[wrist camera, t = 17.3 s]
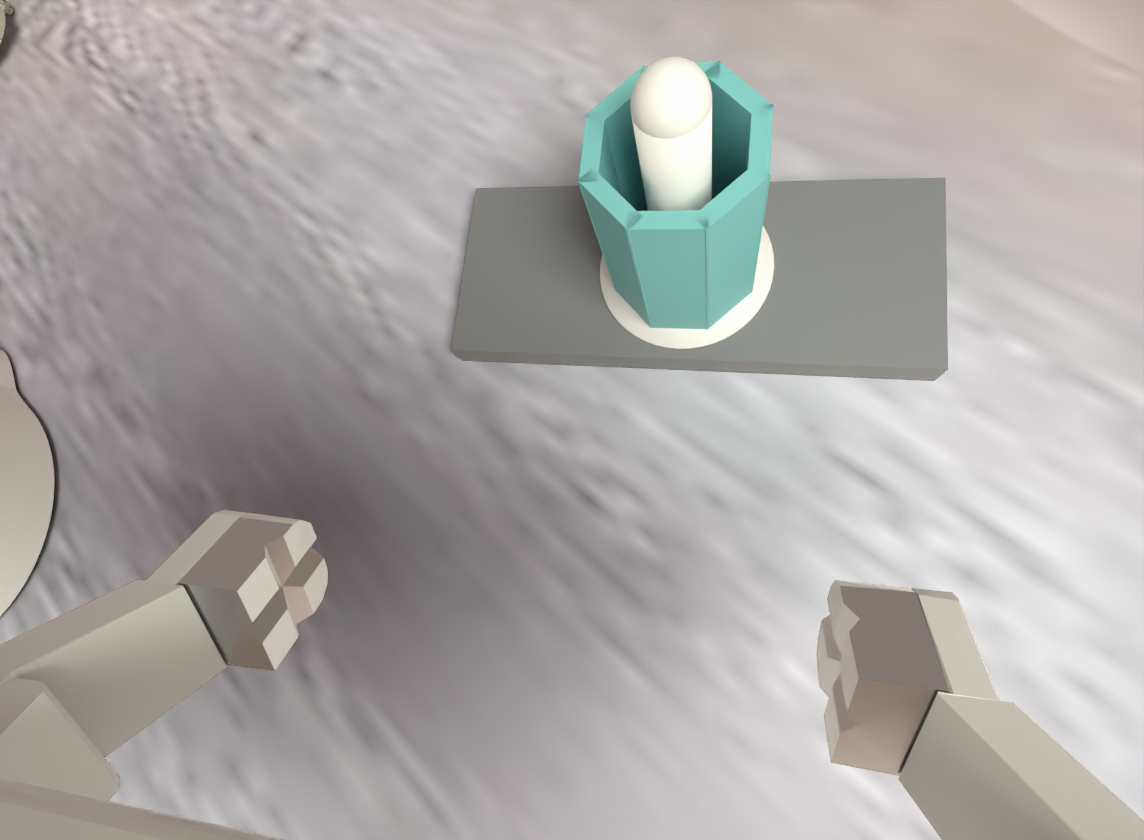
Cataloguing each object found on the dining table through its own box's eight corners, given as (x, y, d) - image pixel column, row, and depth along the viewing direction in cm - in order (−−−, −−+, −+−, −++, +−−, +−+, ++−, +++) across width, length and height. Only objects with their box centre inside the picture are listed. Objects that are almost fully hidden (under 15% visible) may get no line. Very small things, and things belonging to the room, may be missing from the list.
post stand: (463, 360, 30) (295, 219, 18) (486, 205, 31) (347, -20, 19) (934, 380, 25) (1139, 209, 13) (932, 198, 27) (1114, -103, 15)
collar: (611, 327, 27) (571, 230, 19) (623, 205, 28) (590, 68, 20) (750, 331, 25) (767, 229, 18) (757, 203, 26) (776, 56, 19)
